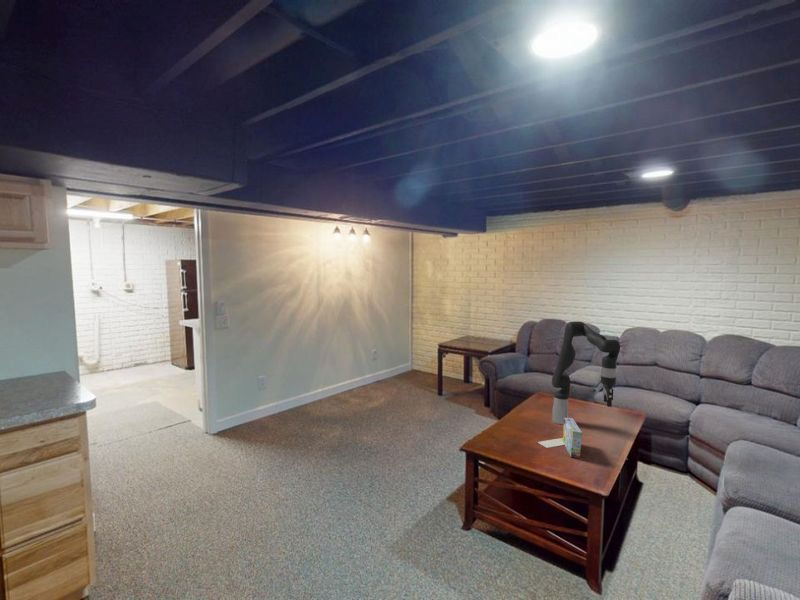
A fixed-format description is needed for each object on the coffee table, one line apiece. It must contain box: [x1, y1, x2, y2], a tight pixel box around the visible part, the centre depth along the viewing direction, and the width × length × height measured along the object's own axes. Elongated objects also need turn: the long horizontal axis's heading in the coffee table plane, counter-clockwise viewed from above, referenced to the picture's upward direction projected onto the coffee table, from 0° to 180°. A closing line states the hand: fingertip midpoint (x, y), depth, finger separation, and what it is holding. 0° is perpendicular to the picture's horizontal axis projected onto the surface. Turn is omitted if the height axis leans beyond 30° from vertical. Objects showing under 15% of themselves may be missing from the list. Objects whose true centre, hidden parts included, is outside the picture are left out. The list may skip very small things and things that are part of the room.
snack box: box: [562, 417, 583, 459], centre depth 230 cm, size 21×6×15 cm, turn 170°
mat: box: [537, 437, 565, 449], centre depth 240 cm, size 8×24×1 cm, turn 110°
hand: (607, 404), depth 222 cm, fingers open, 8 cm apart
